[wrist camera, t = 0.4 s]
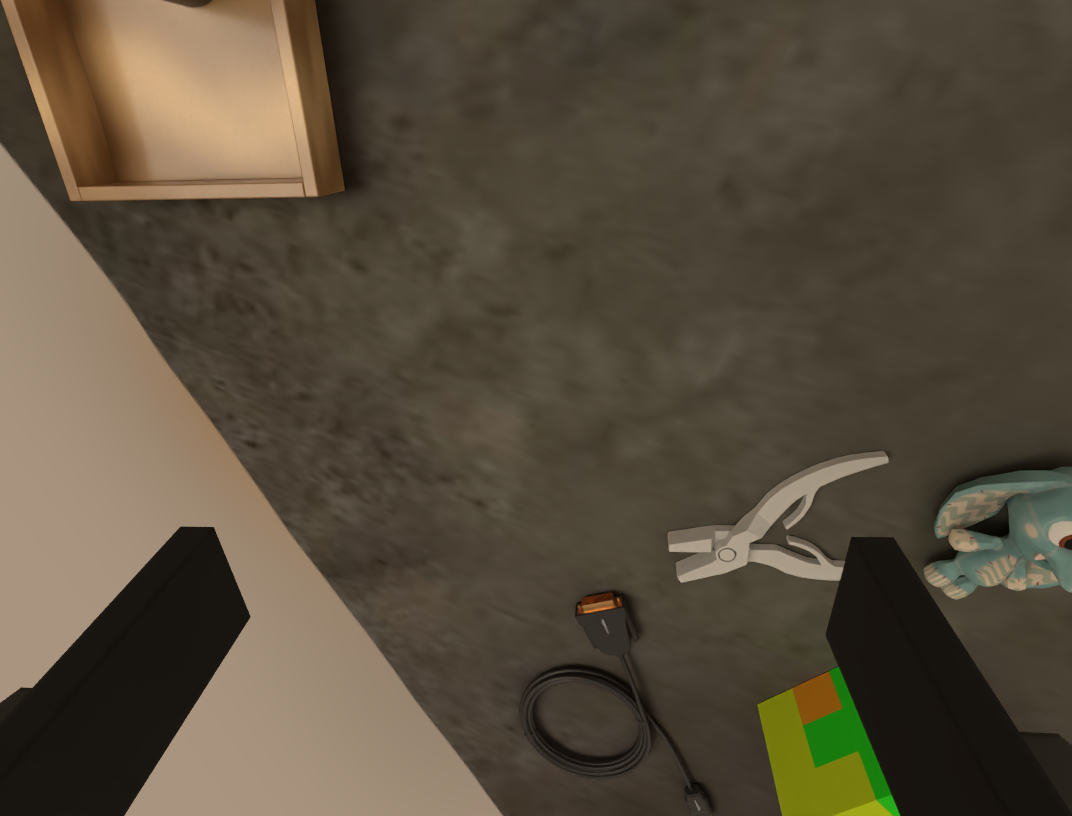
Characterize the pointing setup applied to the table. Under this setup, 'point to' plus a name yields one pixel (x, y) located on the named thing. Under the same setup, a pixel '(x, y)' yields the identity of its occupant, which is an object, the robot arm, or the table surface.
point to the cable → (612, 637)
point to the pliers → (751, 527)
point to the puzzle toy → (823, 752)
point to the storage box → (181, 97)
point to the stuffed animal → (1029, 548)
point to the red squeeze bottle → (190, 2)
